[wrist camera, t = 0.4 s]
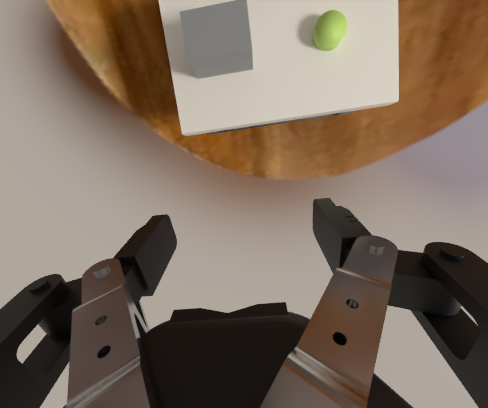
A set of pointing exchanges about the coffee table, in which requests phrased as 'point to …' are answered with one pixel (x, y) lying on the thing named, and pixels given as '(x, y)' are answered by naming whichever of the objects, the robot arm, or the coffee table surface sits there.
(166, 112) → the coffee table surface
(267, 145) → the coffee table surface
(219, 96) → the plate
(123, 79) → the coffee table surface
